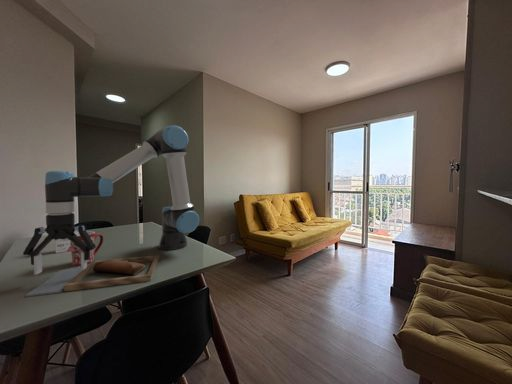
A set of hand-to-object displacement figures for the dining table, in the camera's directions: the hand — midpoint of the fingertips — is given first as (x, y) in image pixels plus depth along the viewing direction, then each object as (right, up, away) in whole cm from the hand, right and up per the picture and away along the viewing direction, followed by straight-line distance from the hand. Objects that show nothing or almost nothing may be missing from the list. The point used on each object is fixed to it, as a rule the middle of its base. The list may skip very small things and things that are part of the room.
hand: (61, 270), depth 75 cm
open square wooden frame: (+16, -4, +8) cm, 18 cm away
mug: (-6, -3, +19) cm, 20 cm away
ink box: (-30, -3, +34) cm, 46 cm away
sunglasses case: (+16, -4, +11) cm, 20 cm away
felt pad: (0, -4, 0) cm, 4 cm away
